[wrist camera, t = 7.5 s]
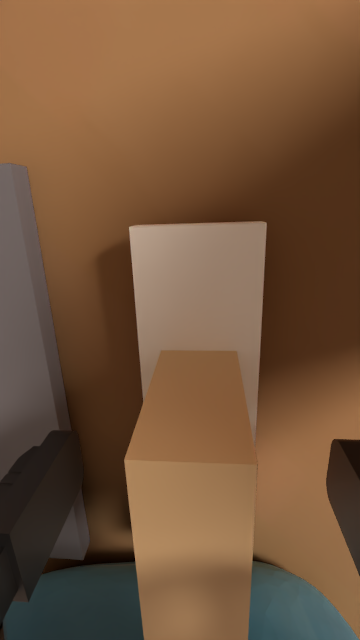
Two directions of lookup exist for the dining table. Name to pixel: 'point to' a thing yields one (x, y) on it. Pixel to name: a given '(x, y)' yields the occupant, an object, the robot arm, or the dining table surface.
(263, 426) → the dining table surface
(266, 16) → the dining table surface
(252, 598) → the casserole dish
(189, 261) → the stub
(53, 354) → the board
